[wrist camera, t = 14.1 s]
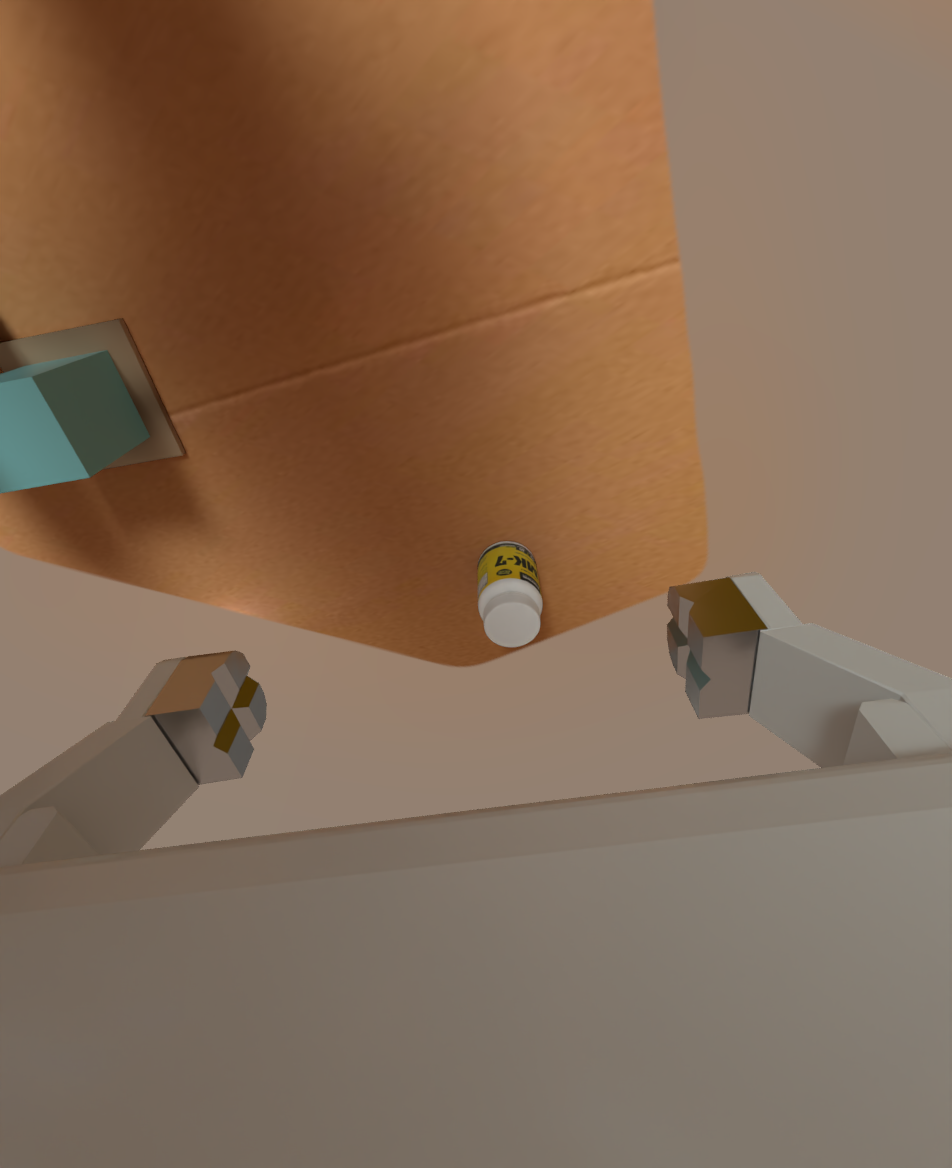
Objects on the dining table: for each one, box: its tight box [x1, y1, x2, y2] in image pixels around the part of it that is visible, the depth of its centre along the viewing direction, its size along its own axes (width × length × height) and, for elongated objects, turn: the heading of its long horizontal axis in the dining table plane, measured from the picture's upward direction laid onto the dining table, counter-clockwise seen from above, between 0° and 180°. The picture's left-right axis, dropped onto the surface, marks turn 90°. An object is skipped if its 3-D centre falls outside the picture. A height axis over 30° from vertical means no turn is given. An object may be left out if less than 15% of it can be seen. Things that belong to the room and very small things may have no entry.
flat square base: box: [0, 318, 185, 470], centre depth 36 cm, size 9×9×6 cm
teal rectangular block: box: [0, 350, 150, 493], centre depth 35 cm, size 6×6×8 cm
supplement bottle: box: [478, 541, 543, 647], centre depth 42 cm, size 5×5×8 cm
